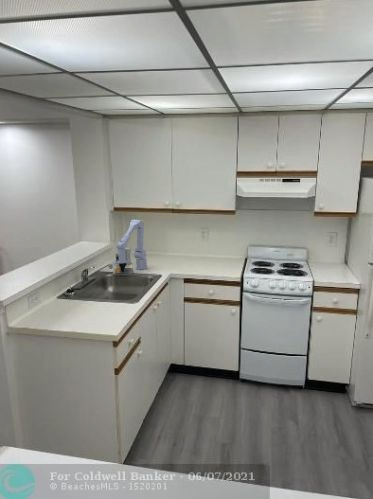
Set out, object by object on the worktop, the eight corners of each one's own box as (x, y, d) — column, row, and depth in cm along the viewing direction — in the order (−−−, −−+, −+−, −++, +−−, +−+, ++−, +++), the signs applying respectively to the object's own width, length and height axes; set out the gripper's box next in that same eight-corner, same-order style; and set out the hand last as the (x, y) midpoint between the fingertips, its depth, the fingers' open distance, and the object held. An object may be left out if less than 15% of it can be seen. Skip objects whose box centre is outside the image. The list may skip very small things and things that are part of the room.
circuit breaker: (114, 266, 322) (114, 250, 318) (124, 262, 334) (124, 247, 331) (121, 267, 318) (120, 251, 315) (131, 263, 331) (130, 248, 327)
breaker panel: (133, 269, 314) (132, 264, 313) (132, 275, 296) (132, 270, 295) (114, 269, 312) (114, 264, 311) (112, 275, 294) (112, 270, 293)
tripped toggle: (119, 272, 298) (119, 267, 297) (119, 273, 295) (119, 268, 294) (115, 272, 298) (115, 267, 297) (115, 273, 295) (115, 268, 294)
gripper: (128, 254, 300) (129, 269, 304) (112, 256, 294) (112, 271, 297) (131, 256, 294) (132, 271, 297) (114, 258, 288) (115, 274, 291)
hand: (122, 272), depth 297 cm, fingers closed
